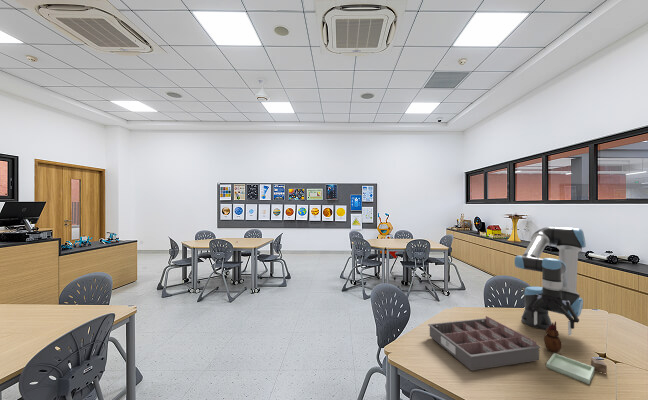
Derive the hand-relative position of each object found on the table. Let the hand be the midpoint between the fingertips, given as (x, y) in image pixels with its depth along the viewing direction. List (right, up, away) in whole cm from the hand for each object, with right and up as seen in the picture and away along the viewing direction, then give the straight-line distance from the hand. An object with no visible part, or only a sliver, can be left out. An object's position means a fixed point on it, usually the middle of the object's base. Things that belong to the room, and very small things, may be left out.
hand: (552, 329), depth 133 cm
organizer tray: (-38, -11, +1) cm, 39 cm away
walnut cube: (+7, -11, -16) cm, 21 cm away
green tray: (-6, -11, -16) cm, 20 cm away
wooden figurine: (0, -11, 0) cm, 11 cm away
